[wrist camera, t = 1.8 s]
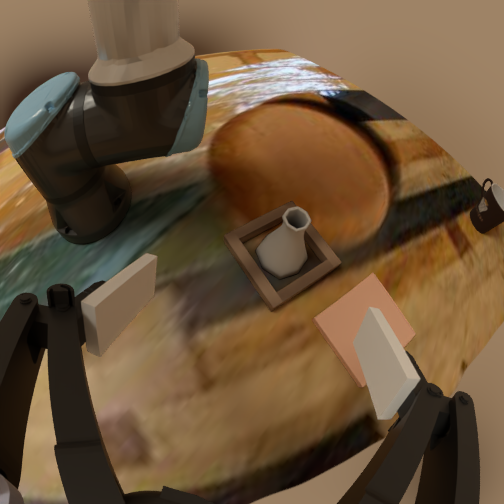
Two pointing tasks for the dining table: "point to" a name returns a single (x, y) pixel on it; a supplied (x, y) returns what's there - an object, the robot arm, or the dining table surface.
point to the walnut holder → (257, 276)
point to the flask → (285, 245)
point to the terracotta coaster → (359, 322)
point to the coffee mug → (488, 208)
